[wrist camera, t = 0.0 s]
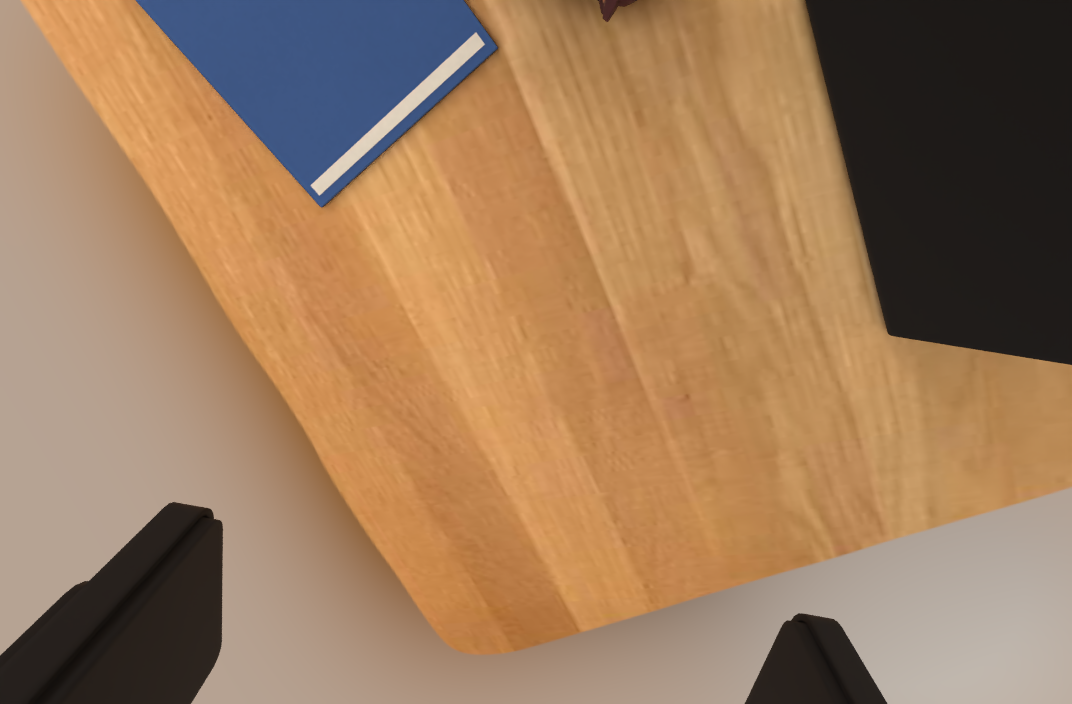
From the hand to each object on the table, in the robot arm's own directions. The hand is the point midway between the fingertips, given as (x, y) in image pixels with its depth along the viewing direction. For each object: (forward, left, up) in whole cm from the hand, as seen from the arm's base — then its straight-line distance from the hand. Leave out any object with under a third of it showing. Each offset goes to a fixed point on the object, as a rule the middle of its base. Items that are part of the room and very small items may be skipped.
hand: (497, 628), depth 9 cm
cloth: (+2, -21, -31) cm, 38 cm away
